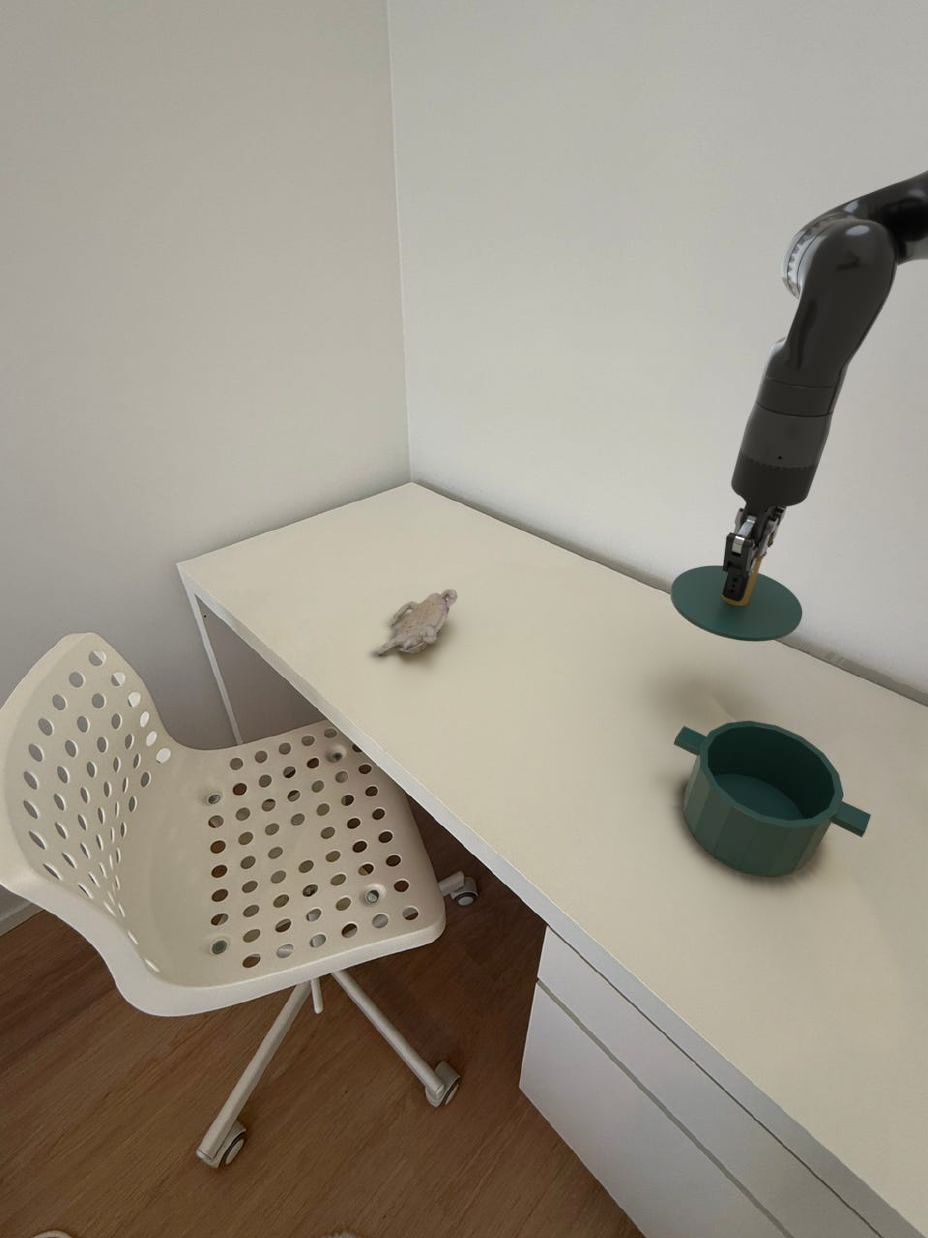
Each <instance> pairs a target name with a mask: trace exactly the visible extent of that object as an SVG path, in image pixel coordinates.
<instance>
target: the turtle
mask: <svg viewBox="0 0 928 1238" xmlns="http://www.w3.org/2000/svg"><path fill="white" fill-rule="evenodd" d="M457 600H458V593H457V591H456V590H455V589H452V588H447V589H445V590H443V591H442V593H439V592H432V593H431V594H429V596H427V597H426V598H425V599H424V600H423V601H421V602H420V603H417V602H416V601H413V600H410V601H408V602H407V603H405V604H404V605H402V606H401V607H400V608H399V610H398V611H396V612H395V613H394V615H392V620H391V621H390V623H391V625H394V624H395V623H396V622H397V620H398V618H401V616H403V615H404V614H406V613H407V612H408V611H410V610H411V612H410V613H409V614H408V615H406V616H405V618H404V619H403V620H402V623H400V626H399V627H398V630H397V632H396V635H395V637H394V638H391V639H390V640H389V641H387V642H385V643H384V644H382V645H381V646H380V648H379V649H378V655H381V654H384V653H385V651H388V650H389V649H391V648H394V647H396V648H397V651H401V652H404V653H409V654H413V655H414V654H418V653H419V652H422V651H424V649H426V648H427V647H428V645H431V644H433V643H436V641H437V639H438V637H437V634H439V632H440V631H441V628H442V627H443V625H445V623H446V621H447V619H448V616H449V612H450V607H451V606H452V605H453V604H456V602H457Z"/></svg>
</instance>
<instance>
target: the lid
mask: <svg viewBox="0 0 928 1238" xmlns="http://www.w3.org/2000/svg"><path fill="white" fill-rule="evenodd" d="M762 558H763V557H762V555H761V556H760V557H759V558H757V559H756V562H755V565H754V568H753V569H754V570H753V573H751V575H750V578H749V581H748V585H747V588H746V591H745V594H744V597H743V598H742V600H741V601H739V602H737V601H734V600H731V599H728V598H726V597H724V596H723V594H722V593H723V589H724V586H725V582H726V579H727V575H728V572H725V571H723V565H702V566H697V567H694V568H691V569H688V570H686V571H683V572H682V573H680V574H678V575H677V577H675V579H674V580H673V582H672V584H671V587H670V592H669V594H670V596H669V597H670V601H671V603H672V606H673V607H674V609H675V610H676V611H677V612H678V613H679V615H681V617H682V618H683V619H684V620H686V621H688V623H691V624H692V625H693V626H695V627H697V628H699V629H700V630H703V631H704V632H705V631H706V632H707V633H710V634H712V635H715V636H718V637H722V638H726V639H730V640H735V641H740V642H741V641H743V642H768V641H775V640H779V639H781V638H785V637H787V636H788V635H790V634H792V633H793V632H794V631H796V630H797V628H798V627H799V626H800V623H801V621H802V619H803V607H802V604H801V602H800V600H799V598H798V597H797V596H796V595H795V594H794V593H793V592H792V591H791V589H789V588H788V587H786V586H785V585H784V584H782V583H781V582H779V581H777V580H776V579H774V578H772V577H769V576H767V575H765V574H763V573H760V572H759V571H760V567H761V565H762V561H763V559H764V558H763V559H762Z"/></svg>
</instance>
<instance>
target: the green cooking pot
mask: <svg viewBox="0 0 928 1238" xmlns="http://www.w3.org/2000/svg"><path fill="white" fill-rule="evenodd" d="M673 745H674V746H676V747H678V748H680V749H683V750H684V751H686V752H688V753H690V754H692V755H694V756H696V758H695V761H694V764H693V767H692V770H691V773H690V776H689V779H688V782H687V786H686V788H685V792H684V799H683V814H684V817H685V821H686V824H687V827H688V829H689V830H690V832H691V834H692V835H693V837H694V838H695V840H696V841H697V842H698V843H699V845H700V846H701V847H702V848H703V849H704V850H705V851H706V852H707V853H708V854H710V855H711V856H712V857H714V859H715V860H718V861H719V862H720V863H723V864H724V865H726V866H728V867H730V868H732V869H734V870H737V871H739V872H741V873H744V874H749V875H751V876H757V877H765V878H766V877H767V878H778V877H783V876H788V875H791V874H794V873H796V872H797V871H799V870H801V869H802V868H804V867H805V866H806V865H807V864H808V863H809V862H810V861H812V858H813V857H814V855H815V853H816V851H817V850H818V848H819V846H820V845H821V842H822V841H823V838H824V837H825V835H826V833H827V832H828V830H829V829H830V827H831V825H832V824H834V825H836V826H837V827H840V828H842V829H844V830H845V831H847V832H850V833H852V834H853V835H856V836H858V837H860V838H863V836H864V835H865V833H866V831H867V829H868V825H869V822H870V820H871V816H872V814H870V813H869V812H866V811H864V810H862V809H860V808H859V807H856V806H854V805H852V804H850V803H847V802H845V801H844V800H843V799H844V795H845V794H844V790H843V786H842V785H843V784H842V781H841V776H840V773H839V772H838V770H837V769H836V768H835V766H834V765H833V764H832V762H831V761H830V759H829V758H828V756H827V755H826V754H825V752H823V751H821V750H820V749H819V748H818V747H817V746H815V745H814V744H813V743H811V742H810V741H809V740H807V739H806V738H804V737H803V736H801V735H799V734H797V733H794V732H792V731H790V730H788V729H786V728H784V727H781V726H779V725H776V724H770V723H767V722H766V723H765V722H759V721H755V720H742V721H741V720H740V721H732V722H731V721H730V722H726V723H724V724H722V725H720V726H718V727H716V728H714V729H712V730H710V731H709V732H708V733H707V735H704V734H702V733H700V732H698V731H696V730H694V729H692V728H690V727H688V726H686V725H683V727H682V728H681V729H680V730H679V732H678V734H677V735H676V736H675V738H674V741H673Z"/></svg>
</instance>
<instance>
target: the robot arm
mask: <svg viewBox="0 0 928 1238" xmlns="http://www.w3.org/2000/svg"><path fill="white" fill-rule="evenodd" d="M781 258H782V259H781V262H780V264H781V265H780V276H781V280H782V283H783V285H784V287H785V288H786V290H787V291H788V293H789V294H790V295H792V296H793V297H794V298H795V299H797V300H798V303H797V307H796V310H795V312H794V316H793V318H792V321H791V324H790V326H789V329H788V331H787V334H786V336H784V337H781V338H779V339H778V340H777V341H776V342H775V343H774V344H773V345H772V347H771V348H770V350H769V352H768V355H767V357H766V360H765V363H764V367H763V370H762V374H761V379H760V382H759V386H758V390H757V392H756V393H757V394H756V397H755V399H754V403H753V405H752V407H751V411H750V413H749V415H748V418H747V421H746V424H745V427H744V431H743V435H742V439H741V442H740V447H739V450H738V454H737V458H736V461H735V465H734V469H733V472H732V477H731V481H730V486H731V488H732V491H733V492H734V493H735V494H736V495H737V496H738V497H741V498H742V499H743V501H744V502H745V505H744V506H743V507H739V508H738V510H737V513H736V516H735V519H734V524H735V526H734V530H733V532H731V531H730V532H729V533H728V534H727V535H726V536H725V544H724V546H725V547H724V554H723V564H722V566H723V571H725V572H728V575H727V579H726V582H725V586H724V589H723V593H722V594H723V596H724V597H726V598H728V599H731V600H734V601H737V602H739V601H741V600H742V598H743V597H744V594H745V591H746V588H747V585H748V581H749V578H750V575H751V573H753V570H754V569H753V568H754V565H755V562H756V559H757V558H759V557H760V556H761V555H762V557H763V558H762V560H763V559H765V557H766V556H767V555H768V548H771V546H773V544H774V542H775V541H774V540H775V539H776V537H777V534H778V531H779V527H780V525H781V523H782V521H783V520H784V518H785V515H786V511H787V508H788V507H792V506H797V505H799V504H801V503H803V502H804V501H805V500H807V498H808V496H809V493H810V490H811V487H812V484H813V481H814V479H815V476H816V473H817V470H818V468H819V464H820V461H821V458H822V456H823V452H824V451H825V447H826V444H827V441H828V438H829V435H830V430H831V425H832V421H833V420H832V419H833V415H834V412H835V409H836V406H837V403H838V401H839V398H840V394H841V391H842V388H843V386H844V384H845V383H844V382H845V380H846V376H847V372H848V369H849V365H850V364H851V362H852V360H853V359H854V357H855V356H856V354H857V353H858V351H859V350H860V348H861V347H862V345H863V344H864V342H865V340H866V338H867V337H868V335H869V333H870V332H871V329H872V328H873V327H874V324H875V323H876V321H877V319H878V318H879V316H880V314H881V312H882V310H883V308H884V306H885V304H886V302H887V300H888V299H889V296H890V294H891V292H892V289H893V286H894V282H895V279H896V276H897V270H898V266H901V265H904V264H907V263H909V262H910V263H911V262H914V261H915V262H916V261H926V260H927V261H928V169H927V170H925V171H922V172H921V173H919V174H916V175H914V176H911V177H909V178H907V179H903V180H900V181H898V182H895V183H892V184H889V185H886V186H884V187H881V188H879V189H876V190H874V191H870V192H868V193H866V194H863V195H861V196H858V197H856V198H853V199H851V200H848V201H846V202H844V203H841V204H839V205H836V206H834V207H833V208H831V209H828V210H826V211H825V212H823V213H821V214H819V215H818V216H816V217H815V218H813V219H812V220H810V221H808V222H807V223H806V224H804V226H802V227H801V228H800V229H799V230H798V231H797V232H796V233H795V234H794V235H793V237H792V238H791V240H790V241H789V243H788V244H787V246H786V248H785V250H784V252H783V255H782V257H781Z"/></svg>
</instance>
